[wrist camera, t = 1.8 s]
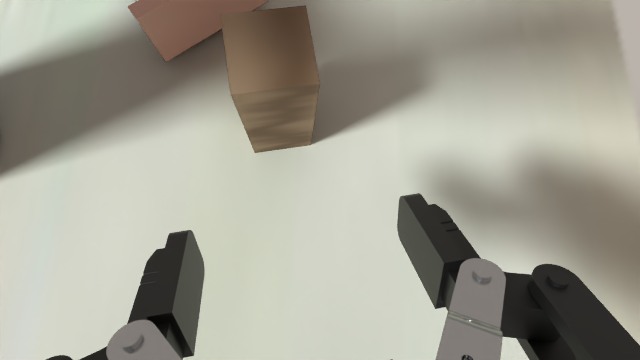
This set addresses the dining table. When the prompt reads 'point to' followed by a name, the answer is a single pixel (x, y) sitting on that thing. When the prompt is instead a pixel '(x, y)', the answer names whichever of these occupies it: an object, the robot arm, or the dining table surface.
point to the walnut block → (272, 75)
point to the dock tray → (184, 21)
